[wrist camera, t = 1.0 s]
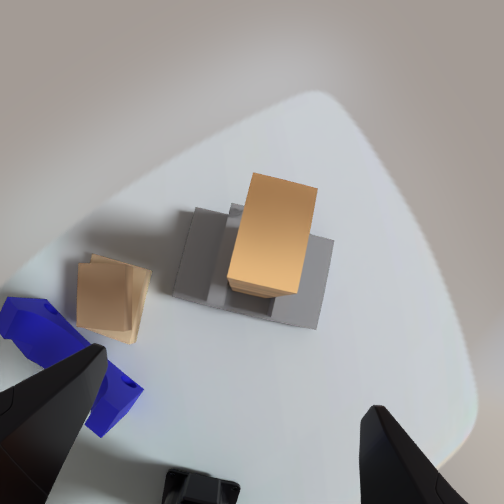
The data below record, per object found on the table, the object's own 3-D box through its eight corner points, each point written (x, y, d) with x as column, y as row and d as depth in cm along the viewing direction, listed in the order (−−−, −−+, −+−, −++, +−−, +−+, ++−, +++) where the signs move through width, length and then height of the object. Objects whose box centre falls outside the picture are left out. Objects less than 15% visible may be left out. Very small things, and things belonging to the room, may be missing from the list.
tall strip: (265, 298, 22) (297, 293, 11) (232, 290, 22) (227, 277, 11) (277, 246, 23) (317, 188, 11) (245, 238, 23) (253, 172, 11)
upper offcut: (131, 329, 22) (123, 331, 20) (87, 325, 21) (76, 326, 20) (133, 267, 22) (125, 264, 21) (88, 265, 22) (78, 262, 20)
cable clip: (28, 335, 22) (-12, 339, 17) (47, 299, 23) (7, 296, 17) (120, 423, 22) (92, 450, 16) (144, 388, 22) (119, 411, 17)
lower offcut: (137, 341, 23) (129, 344, 21) (86, 323, 23) (76, 324, 21) (153, 271, 24) (146, 269, 22) (102, 257, 24) (92, 253, 22)
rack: (311, 328, 24) (327, 333, 19) (175, 296, 24) (162, 295, 19) (328, 243, 25) (347, 231, 20) (198, 212, 25) (190, 193, 20)
